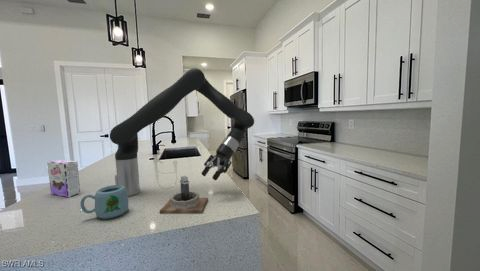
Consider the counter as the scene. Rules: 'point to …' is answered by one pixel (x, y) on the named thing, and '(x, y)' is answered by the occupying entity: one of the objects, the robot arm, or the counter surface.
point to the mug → (108, 202)
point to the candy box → (64, 178)
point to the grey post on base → (184, 189)
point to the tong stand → (184, 204)
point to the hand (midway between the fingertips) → (208, 177)
